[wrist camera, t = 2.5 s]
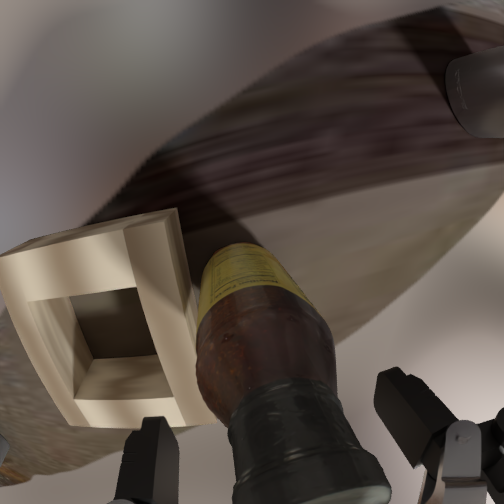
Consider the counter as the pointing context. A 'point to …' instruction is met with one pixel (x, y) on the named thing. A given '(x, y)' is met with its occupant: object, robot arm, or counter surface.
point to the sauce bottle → (277, 387)
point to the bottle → (3, 448)
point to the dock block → (98, 280)
